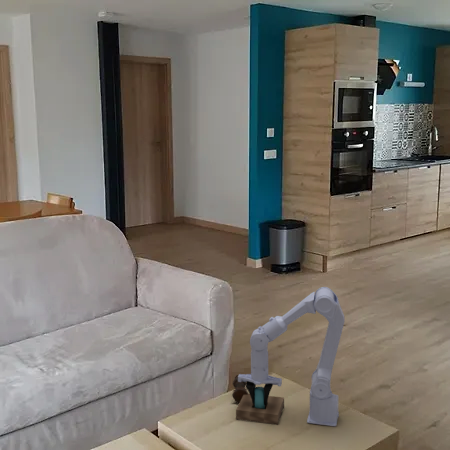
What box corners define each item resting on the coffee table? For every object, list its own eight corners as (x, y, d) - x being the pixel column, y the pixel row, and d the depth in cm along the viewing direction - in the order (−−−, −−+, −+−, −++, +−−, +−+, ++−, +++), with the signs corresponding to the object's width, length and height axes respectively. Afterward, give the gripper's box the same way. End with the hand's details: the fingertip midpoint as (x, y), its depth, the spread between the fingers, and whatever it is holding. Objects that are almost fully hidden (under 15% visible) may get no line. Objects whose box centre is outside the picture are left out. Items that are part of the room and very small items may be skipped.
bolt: (241, 387, 222) (242, 406, 207) (229, 381, 222) (230, 399, 207) (248, 374, 221) (251, 392, 206) (237, 368, 221) (238, 386, 206)
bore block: (284, 406, 205) (284, 397, 204) (277, 424, 193) (277, 414, 193) (244, 402, 208) (244, 393, 208) (236, 419, 197) (236, 409, 196)
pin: (265, 408, 201) (265, 386, 199) (264, 413, 197) (264, 391, 196) (255, 408, 201) (255, 386, 200) (254, 413, 198) (253, 391, 196)
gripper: (235, 368, 195) (236, 406, 197) (279, 372, 191) (279, 411, 193) (240, 359, 201) (241, 396, 204) (282, 363, 197) (282, 401, 200)
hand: (259, 403), depth 199 cm, fingers closed on pin, 3 cm apart
